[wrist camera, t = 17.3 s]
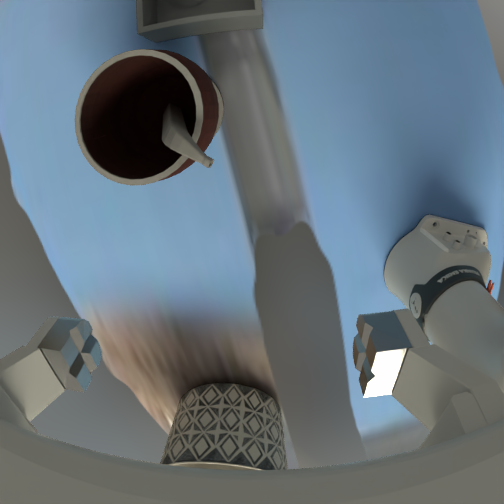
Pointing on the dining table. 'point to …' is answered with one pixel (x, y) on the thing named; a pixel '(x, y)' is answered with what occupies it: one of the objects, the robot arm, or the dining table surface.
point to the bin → (196, 18)
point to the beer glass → (185, 3)
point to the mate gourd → (147, 116)
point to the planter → (227, 430)
